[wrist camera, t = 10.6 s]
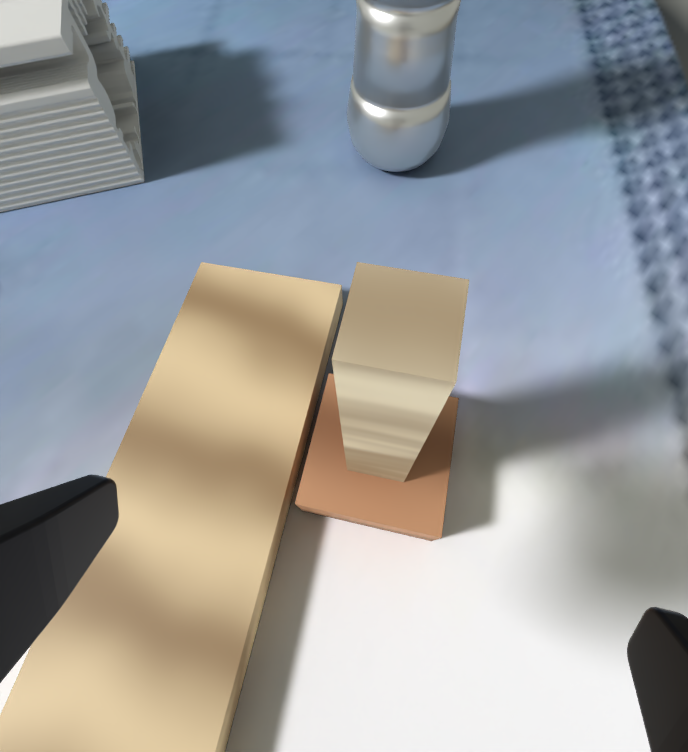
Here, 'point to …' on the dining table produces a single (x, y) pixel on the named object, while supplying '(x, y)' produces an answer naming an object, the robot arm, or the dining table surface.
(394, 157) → the plastic bottle
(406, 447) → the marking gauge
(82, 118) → the aluminum extrusion profile
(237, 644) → the board
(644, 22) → the dining table surface
